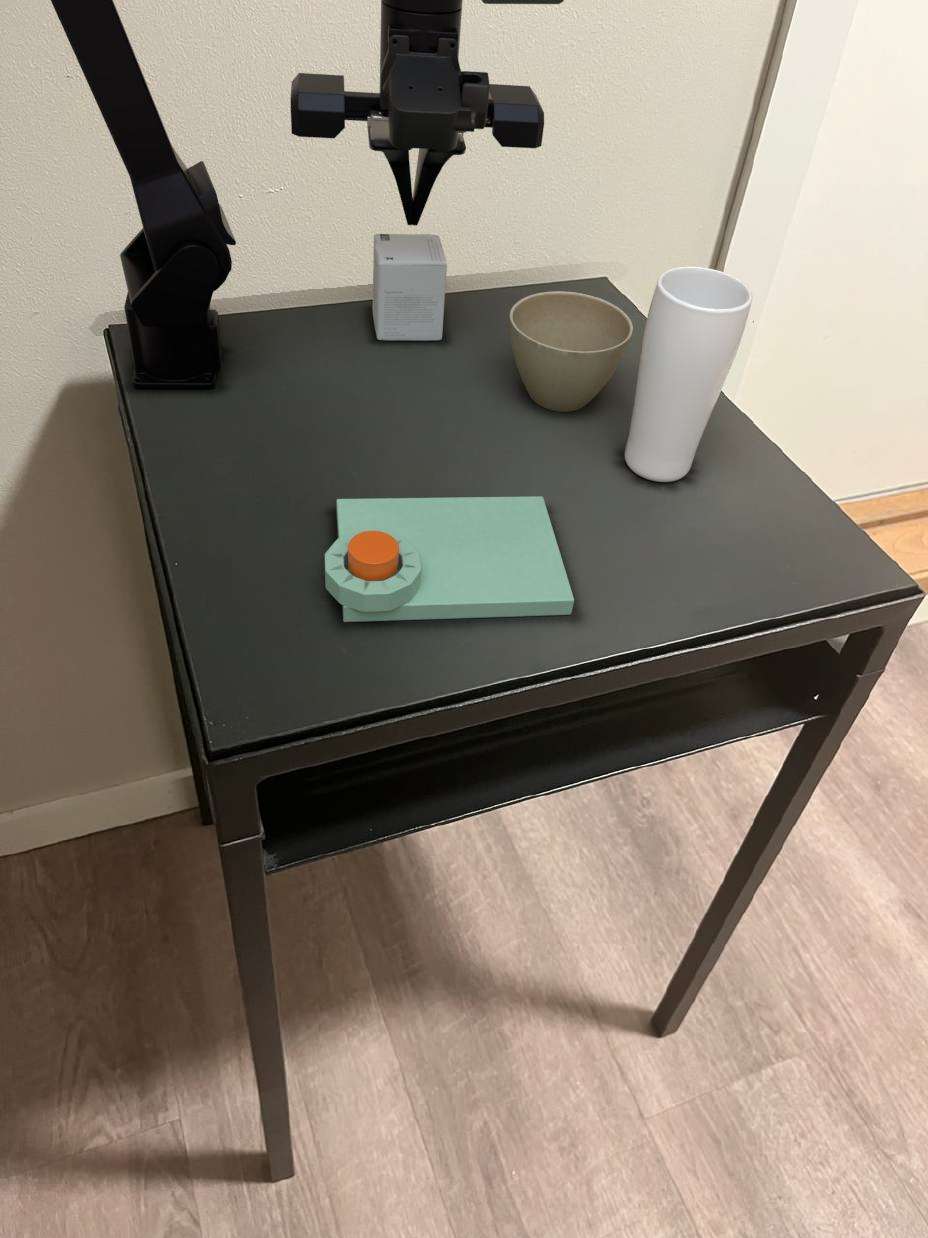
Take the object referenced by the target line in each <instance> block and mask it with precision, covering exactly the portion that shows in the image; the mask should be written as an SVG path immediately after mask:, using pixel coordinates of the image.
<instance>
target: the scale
mask: <svg viewBox="0 0 928 1238" xmlns="http://www.w3.org/2000/svg"><path fill="white" fill-rule="evenodd" d="M335 502H336V526H337V539H336V540H335V541H334V542H333V543H332V544H331V546H330V547H329V548H328V549H327V551H325V553H324V585H325V589H326V590H327V592H328V593H329V594H330V595H331V596H332V597H333V598H334V599H335V600H336V601H337V603H339V604H340V605H342V621H343V622H344V623H358V622H360V623H361V622H391V621H419V620H420V621H422V620H423V621H424V620H450V619H452V620H454V619H481V618H482V619H484V618H485V619H486V618H513V617H542V616H543V617H544V616H545V617H546V616H571V615H572V612H573V608H574V604H575V598H574V593H573V592H572V588H571V584H570V581H569V577H568V574H567V571H566V567H565V564H564V562H563V558H562V555H561V551H560V548H559V545H558V541H557V538H556V535H555V531H554V528H553V526H552V521H551V518H550V515H549V511H548V508H547V505H546V502H545V498H544V496H541V495H539V496H538V495H537V496H533V495H532V496H531V495H530V496H475V497H474V496H466V497H465V496H461V497H455V496H454V497H384V498H382V497H381V498H379V497H377V498H373V497H372V498H336V501H335ZM365 531H380V532H384V533H387V534H389V535H391V536H392V537H393V538H394V539H395V540H396V541H397V543H398V545H399V559H398V569H397V571H396V572H395V574H394V575H393V576H391V577H390V578H388V579H386V580H382V581H366V580H363V579H360V578H357V577H356V576H354V575H353V574H352V573H351V571H350V570H349V567H348V544H349V542H350V540H351V539H352V538H353V537H354V536H355V535H357V534H359V533H361V532H365Z"/></svg>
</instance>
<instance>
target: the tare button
mask: <svg viewBox="0 0 928 1238" xmlns="http://www.w3.org/2000/svg"><path fill="white" fill-rule="evenodd" d="M398 559H399V545H398V543H397V541H396V540H395V539H394V538H393V537H392V536H391V535H389V534H387V533H384V532H380V531H365V532H361V533H359V534H357V535H355V536H354V537H353V538H352V539H351V540H350V542H349V544H348V567H349V570H350V571H351V573H352V574H353V575H354V576H356V577H357V578H360V579H363V580H366V581H382V580H386V579H388V578H390V577H391V576H393V575H394V574H395V572H396V571H397V569H398Z"/></svg>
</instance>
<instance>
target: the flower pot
mask: <svg viewBox="0 0 928 1238" xmlns="http://www.w3.org/2000/svg"><path fill="white" fill-rule="evenodd" d="M509 311H510V312H509V331H510V332H509V333H510V342H511V349H512V354H513V358H514V362H515V365H516V368H517V371H518V374H519V376H520V379H521V381H522V384H523V386H524V387H525V389H526V391H527V394H528V395H529V397H530V398H531V400H532V401H533V402H534V403H535V404H537V405H538V406H540V407H542V408H544V409H547V410H549V411H553V412H561V413H569V412H574V411H578V410H580V409H583V408H584V407H585V406H587V404H589V402H591V401H592V400H593V399H594V398H595V397H596V396H597V395H598V394H599V393H600V392H601V391H602V389H603V388H604V387H605V386H606V384H607V383H608V382H609V380H610V379H612V376H613V375H614V373H615V371H616V370H617V368H618V366H619V365H620V363H621V361H622V359H623V357H624V355H625V353H626V351H627V349H628V346H629V344H630V341H631V338H632V336H633V332H634V326H633V322H632V320H631V318H630V317H629V315H628V314H627V313H625V312H624V311H623V310H622V309H621V308H620V307H618V306H617V305H615V304H613V303H611V302H610V301H607V300H606V299H603V298H600V297H597V296H593V295H590V294H586V293H580V292H574V291H565V290H564V291H562V290H557V291H556V290H554V291H552V290H551V291H545V292H538V293H533V294H530V295H528V296H525V297H523V298H521V299H519V300H518V301H517V302H515V304H514V305H513V306H512V307H511V310H509Z"/></svg>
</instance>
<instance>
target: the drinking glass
mask: <svg viewBox="0 0 928 1238" xmlns="http://www.w3.org/2000/svg"><path fill="white" fill-rule="evenodd" d="M752 303H753V292H752V291H751V288H749V286H747V284H746V283H744V282H743V281H742V280H740V279H738V278H737V277H735V276H733V275H731V274H729V273H726V272H723V271H721V270H718V269H714V268H709V267H704V266H703V267H702V266H693V265H691V266H690V265H689V266H678V267H673V268H669V269H666V270H665V271H664V272H662V273H661V274H660V275H659V276H658V278H657V280H656V284H655V288H654V292H653V294H652V298H651V301H650V305H649V309H648V314H647V317H646V320H645V321H646V322H645V326H644V331H643V335H642V343H641V350H640V356H639V363H638V369H637V370H638V371H637V377H636V385H635V390H634V391H635V392H634V397H633V404H632V411H631V418H630V425H629V431H628V436H627V441H626V443H625V448H624V460H625V463H626V465H627V467H628V468H629V469H630V470H631V471H632V472H633V473H634V474H636V475H637V476H639V477H641V478H643V479H646V480H648V481H652V482H657V483H671V482H675V481H679V480H681V479H683V478H685V476H686V475H687V474H688V473H689V472H690V470H691V468H692V465H693V462H694V459H695V456H696V453H697V450H698V447H699V445H700V442H701V440H702V437H703V436H704V432H705V430H706V428H707V425H708V423H709V420H710V419H711V415H712V413H713V412H714V409H715V406H716V403H717V401H718V399H719V396H720V394H721V392H722V390H723V387H724V385H725V383H726V380H727V378H728V376H729V373H730V370H731V368H732V366H733V364H734V361H735V358H736V356H737V353H738V350H739V347H740V344H741V341H742V338H743V335H744V332H745V328H746V326H747V322H748V319H749V314H750V312H751V311H750V310H751V307H752Z"/></svg>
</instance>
